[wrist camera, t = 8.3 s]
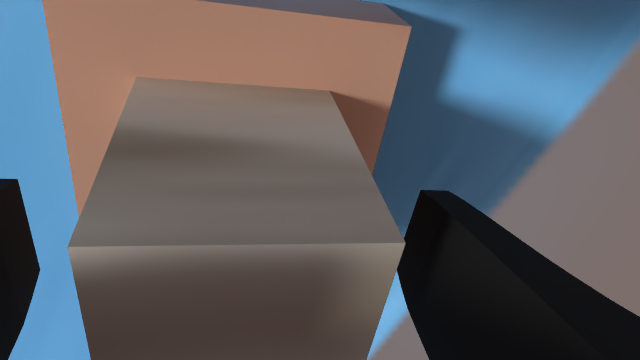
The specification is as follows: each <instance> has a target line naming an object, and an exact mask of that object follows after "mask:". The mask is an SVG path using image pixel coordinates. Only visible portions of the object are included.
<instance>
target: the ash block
mask: <svg viewBox="0 0 640 360" xmlns="http://www.w3.org/2000/svg"><path fill="white" fill-rule="evenodd" d="M405 244H406V243H405V241H404V239H403V237H402V235H401V233H400V231H399V229H398V227H397V225H396V223H395V221H394V219H393V217H392V215H391V213H390V211H389V209H388V207H387V205H386V203H385V201H384V199H383V197H382V195H381V193H380V191H379V189H378V187H377V185H376V183H375V181H374V179H373V177H372V175H371V173H370V171H369V169H368V167H367V165H366V163H365V161H364V159H363V157H362V155H361V153H360V151H359V149H358V147H357V145H356V143H355V141H354V139H353V137H352V135H351V133H350V131H349V129H348V127H347V125H346V123H345V121H344V119H343V117H342V115H341V113H340V111H339V109H338V107H337V105H336V103H335V101H334V99H333V97H332V95H331V93H330V91H328V90H314V89H300V88H286V87H272V86H258V85H244V84H230V83H216V82H202V81H188V80H174V79H160V78H146V77H136V79H135V81H134V84H133V86H132V89H131V91H130V94H129V96H128V99H127V101H126V103H125V106H124V108H123V111H122V113H121V116H120V118H119V121H118V123H117V126H116V128H115V131H114V133H113V136H112V138H111V141H110V143H109V146H108V148H107V150H106V153H105V155H104V158H103V160H102V163H101V165H100V168H99V170H98V173H97V175H96V178H95V180H94V183H93V185H92V188H91V190H90V192H89V195H88V197H87V200H86V202H85V205H84V207H83V210H82V212H81V215H80V217H79V220H78V222H77V225H76V227H75V230H74V232H73V235H72V237H71V239H70V242H69V244H68V252H69V256H70V261H71V266H72V271H73V275H74V280H75V285H76V290H77V295H78V299H79V304H80V309H81V314H82V318H83V323H84V328H85V333H86V338H87V342H88V347H89V352H90V357H91V360H366V359H367V356H368V353H369V351H370V348H371V345H372V342H373V339H374V336H375V333H376V330H377V327H378V324H379V321H380V318H381V315H382V312H383V309H384V306H385V303H386V300H387V297H388V294H389V291H390V288H391V285H392V282H393V279H394V276H395V273H396V270H397V267H398V264H399V261H400V258H401V255H402V252H403V249H404V246H405Z"/></svg>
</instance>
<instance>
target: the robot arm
mask: <svg viewBox="0 0 640 360" xmlns="http://www.w3.org/2000/svg"><path fill="white" fill-rule="evenodd" d="M404 241H405V243H406V244H405V246H404V249H403V252H402V255H401V258H400V261H399V264H398V267H397V272H398V276H399V280H400V284H401V288H402V291H403V294H404V298H405V301H406V305H407V308H408V310H409V313H410V315H411V318H412V320H413V323H414V325H415V327H416V330H417V332H418V334H419V337H420V339H421V341H422V344H423V346H424V348H425V351H426V353H427V355H428V357H429V360H640V317H639V316H637V315H636V314H634V313H632V312H630V311H628V310H627V309H625V308H624V307H622V306H620V305H619V304H617V303H615V302H614V301H612V300H610V299H609V298H607V297H605V296H604V295H602V294H601V293H599V292H597V291H596V290H594V289H593V288H591V287H590V286H588V285H587V284H585V283H583V282H582V281H580V280H579V279H577V278H576V277H574V276H573V275H571V274H569V273H568V272H566V271H565V270H564V269H562V268H560V267H559V266H558V265H556V264H554V263H553V262H552V261H550V260H549V259H547V258H546V257H544V256H543V255H541V254H540V253H538V252H537V251H536V250H534V249H533V248H531V247H530V246H529V245H527V244H526V243H524V242H523V241H521V240H520V239H519V238H517V237H516V236H514V235H513V234H511V233H510V232H509V231H507V230H506V229H504V228H503V227H502V226H500V225H499V224H497V223H496V222H495V221H493V220H492V219H490V218H489V217H488V216H486V215H485V214H483V213H482V212H480V211H479V210H477V209H476V208H475V207H473V206H472V205H470V204H469V203H467V202H466V201H464V200H463V199H461V198H459V197H458V196H456V195H454V194H453V193H451V192H449V191H436V190H421V191H420V194H419V197H418V199H417V202H416V205H415V208H414V211H413V214H412V217H411V220H410V223H409V226H408V229H407V232H406V234H405V237H404ZM39 272H40V267H39V263H38V259H37V255H36V251H35V247H34V243H33V239H32V235H31V231H30V227H29V223H28V219H27V215H26V211H25V207H24V203H23V199H22V195H21V191H20V187H19V183H18V179H0V360H8V358H9V356H10V354H11V352H12V349H13V347H14V345H15V343H16V341H17V338H18V336H19V334H20V332H21V329H22V327H23V325H24V322H25V319H26V315H27V312H28V309H29V306H30V303H31V300H32V296H33V293H34V289H35V286H36V282H37V279H38V275H39Z"/></svg>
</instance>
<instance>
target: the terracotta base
mask: <svg viewBox="0 0 640 360" xmlns="http://www.w3.org/2000/svg"><path fill="white" fill-rule="evenodd" d="M42 1H43V7H44V13H45V19H46V25H47V31H48V37H49V43H50V49H51V54H52V60H53V66H54V72H55V78H56V84H57V90H58V96H59V102H60V108H61V114H62V120H63V126H64V131H65V137H66V143H67V149H68V155H69V161H70V167H71V173H72V179H73V185H74V191H75V197H76V203H77V208H78V214H79V217H80V215H81V212H82V210H83V207H84V205H85V202H86V200H87V197H88V195H89V192H90V190H91V188H92V185H93V183H94V180H95V178H96V175H97V173H98V170H99V168H100V165H101V163H102V160H103V158H104V155H105V153H106V150H107V148H108V146H109V143H110V141H111V138H112V136H113V133H114V131H115V128H116V126H117V123H118V121H119V118H120V116H121V113H122V111H123V108H124V106H125V103H126V101H127V99H128V96H129V94H130V91H131V89H132V86H133V84H134V81H135V79H136V77H146V78H160V79H174V80H188V81H202V82H216V83H230V84H244V85H258V86H272V87H286V88H300V89H314V90H328V91H330V93H331V95H332V97H333V99H334V101H335V103H336V105H337V107H338V109H339V111H340V113H341V115H342V117H343V119H344V121H345V123H346V125H347V127H348V129H349V131H350V133H351V135H352V137H353V139H354V141H355V143H356V145H357V147H358V149H359V151H360V153H361V155H362V157H363V159H364V161H365V163H366V165H367V167H368V169H369V171H370V173H371V175H373V171H374V167H375V164H376V160H377V156H378V152H379V149H380V145H381V141H382V137H383V134H384V130H385V126H386V122H387V119H388V115H389V111H390V107H391V103H392V100H393V96H394V92H395V88H396V85H397V81H398V77H399V73H400V70H401V66H402V62H403V58H404V55H405V51H406V47H407V43H408V40H409V36H410V32H411V28H412V26H411V25H409V24H408V23H407V22H406V21H404V20H403V19H402V18H401V17H399V16H398V15H397V14H396V13H395V12H393V11H392V10H391V9H390V8H388V7H387V6H386V5H385V4H382V3H374V2H367V1H359V0H42Z"/></svg>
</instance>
